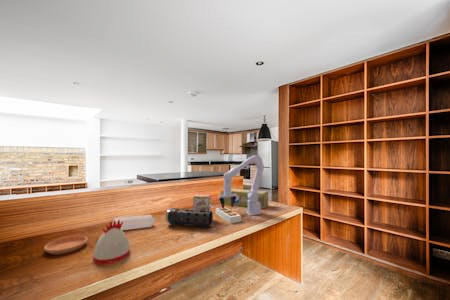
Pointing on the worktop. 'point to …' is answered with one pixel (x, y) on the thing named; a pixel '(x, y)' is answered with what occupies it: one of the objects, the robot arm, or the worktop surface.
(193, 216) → the muzzle brake
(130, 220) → the crystal
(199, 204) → the candy bar box
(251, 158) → the robot arm
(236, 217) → the switch strip
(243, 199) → the soda box
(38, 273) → the worktop surface
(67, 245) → the saucer
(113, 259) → the kitchen timer
